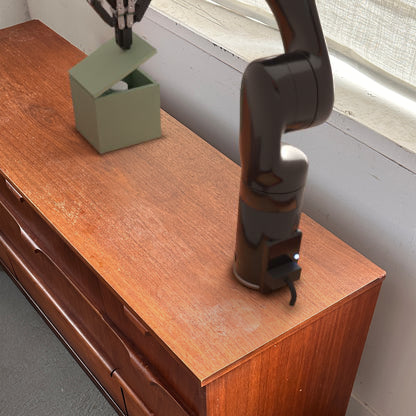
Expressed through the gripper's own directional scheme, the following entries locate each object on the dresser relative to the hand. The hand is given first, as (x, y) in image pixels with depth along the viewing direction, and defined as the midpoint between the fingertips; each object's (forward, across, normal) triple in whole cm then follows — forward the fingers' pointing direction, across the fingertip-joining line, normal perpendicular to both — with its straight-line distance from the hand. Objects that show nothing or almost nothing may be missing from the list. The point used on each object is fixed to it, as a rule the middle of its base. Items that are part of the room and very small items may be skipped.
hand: (124, 47), depth 117 cm
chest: (+16, -3, 0) cm, 16 cm away
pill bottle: (+16, -2, 0) cm, 16 cm away
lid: (+2, -3, 0) cm, 4 cm away
